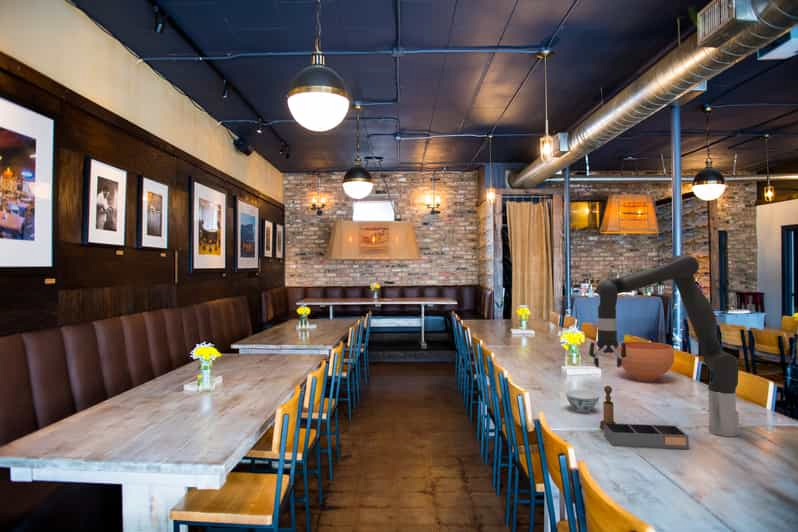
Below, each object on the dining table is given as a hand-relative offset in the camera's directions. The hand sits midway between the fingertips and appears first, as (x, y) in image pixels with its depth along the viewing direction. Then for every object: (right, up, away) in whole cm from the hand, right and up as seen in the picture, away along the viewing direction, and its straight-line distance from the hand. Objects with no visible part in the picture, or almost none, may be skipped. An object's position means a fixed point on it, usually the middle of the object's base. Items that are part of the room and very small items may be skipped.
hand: (607, 366), depth 197 cm
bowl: (+59, -26, +82) cm, 104 cm away
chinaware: (-1, -27, +26) cm, 37 cm away
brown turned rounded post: (0, -26, 0) cm, 26 cm away
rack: (+8, -26, -15) cm, 31 cm away
